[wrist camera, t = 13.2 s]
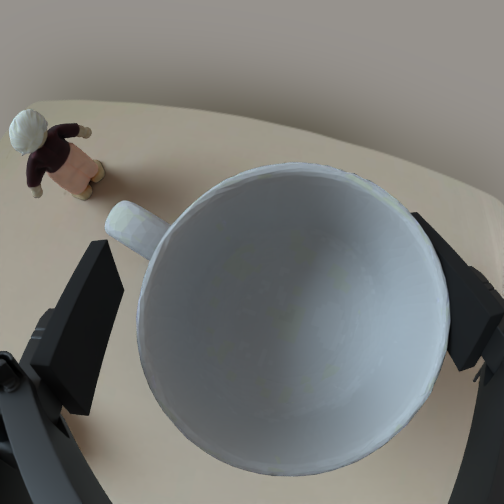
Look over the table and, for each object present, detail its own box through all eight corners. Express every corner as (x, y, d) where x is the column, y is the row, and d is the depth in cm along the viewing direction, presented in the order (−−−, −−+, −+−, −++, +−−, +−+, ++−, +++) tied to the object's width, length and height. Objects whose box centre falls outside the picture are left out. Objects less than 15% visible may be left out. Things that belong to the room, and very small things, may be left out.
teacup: (414, 311, 17) (497, 288, 9) (295, 459, 15) (312, 532, 8) (233, 169, 20) (216, 78, 12) (114, 300, 18) (30, 271, 10)
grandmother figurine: (90, 148, 30) (32, 77, 18) (117, 158, 30) (61, 82, 18) (55, 211, 29) (-22, 161, 17) (80, 224, 29) (2, 174, 16)
